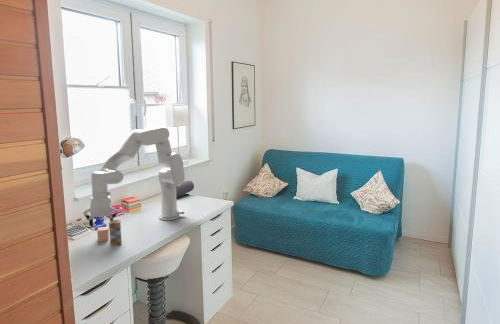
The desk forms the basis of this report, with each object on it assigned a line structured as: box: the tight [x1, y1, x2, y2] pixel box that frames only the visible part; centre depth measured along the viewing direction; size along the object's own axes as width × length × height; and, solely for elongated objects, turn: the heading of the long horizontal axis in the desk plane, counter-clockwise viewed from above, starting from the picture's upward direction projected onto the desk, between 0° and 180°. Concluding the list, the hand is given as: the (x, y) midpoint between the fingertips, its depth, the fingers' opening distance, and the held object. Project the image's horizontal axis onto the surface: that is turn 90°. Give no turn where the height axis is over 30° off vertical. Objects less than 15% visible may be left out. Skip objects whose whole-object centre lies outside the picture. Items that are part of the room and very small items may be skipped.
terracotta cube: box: [96, 226, 110, 242], centre depth 194 cm, size 5×5×6 cm
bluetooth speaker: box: [175, 180, 195, 198], centre depth 279 cm, size 23×9×10 cm, turn 149°
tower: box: [108, 219, 123, 247], centre depth 187 cm, size 5×5×12 cm
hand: (101, 226), depth 192 cm, fingers open, 9 cm apart
